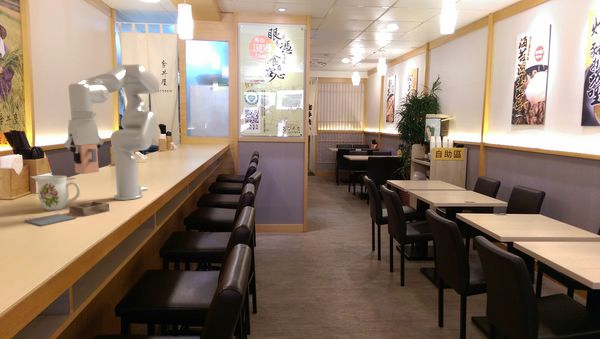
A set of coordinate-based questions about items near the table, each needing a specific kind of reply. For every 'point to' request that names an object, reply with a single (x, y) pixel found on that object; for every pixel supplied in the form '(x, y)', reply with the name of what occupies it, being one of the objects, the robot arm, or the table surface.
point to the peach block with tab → (87, 159)
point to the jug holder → (89, 208)
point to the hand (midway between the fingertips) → (86, 161)
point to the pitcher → (54, 191)
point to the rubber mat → (50, 219)
